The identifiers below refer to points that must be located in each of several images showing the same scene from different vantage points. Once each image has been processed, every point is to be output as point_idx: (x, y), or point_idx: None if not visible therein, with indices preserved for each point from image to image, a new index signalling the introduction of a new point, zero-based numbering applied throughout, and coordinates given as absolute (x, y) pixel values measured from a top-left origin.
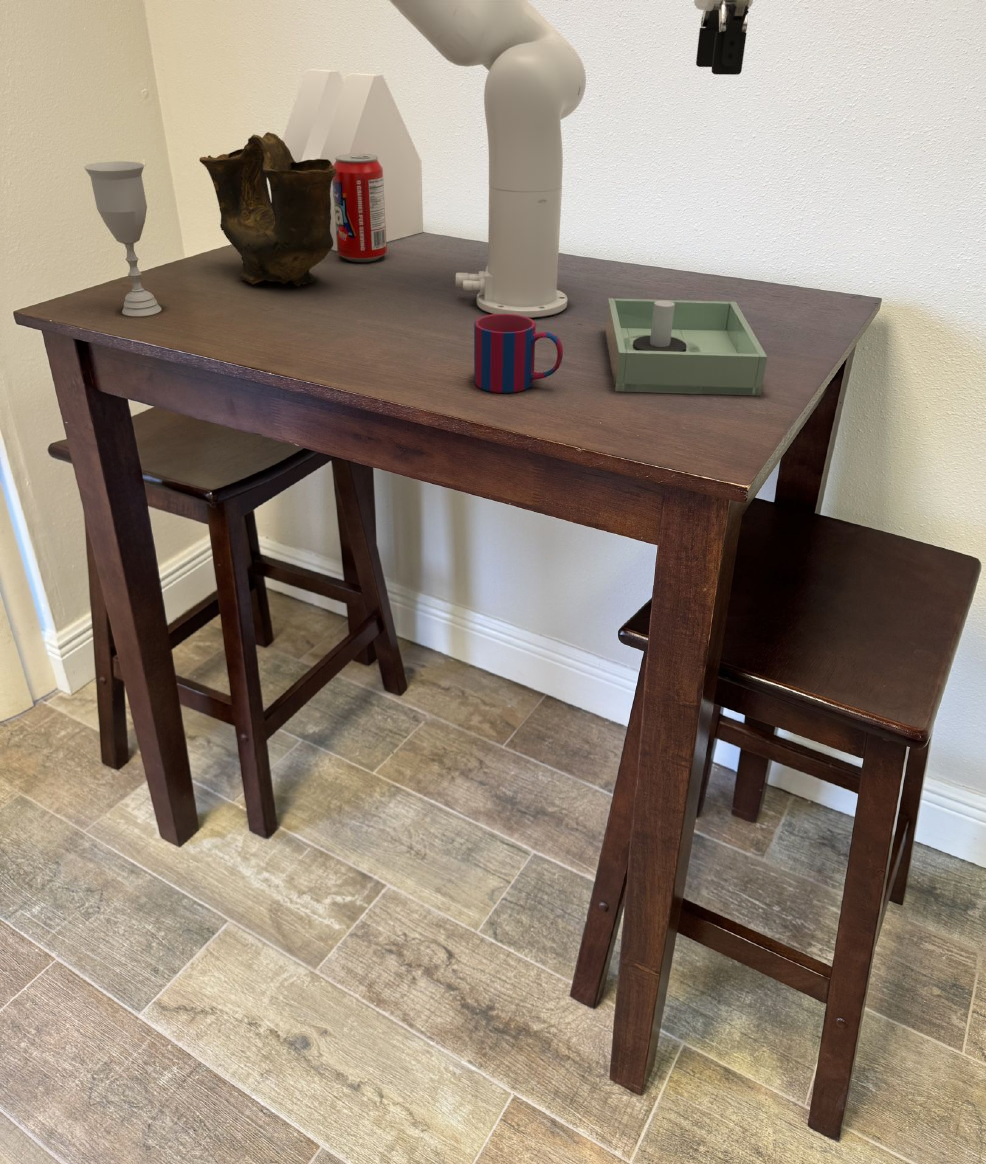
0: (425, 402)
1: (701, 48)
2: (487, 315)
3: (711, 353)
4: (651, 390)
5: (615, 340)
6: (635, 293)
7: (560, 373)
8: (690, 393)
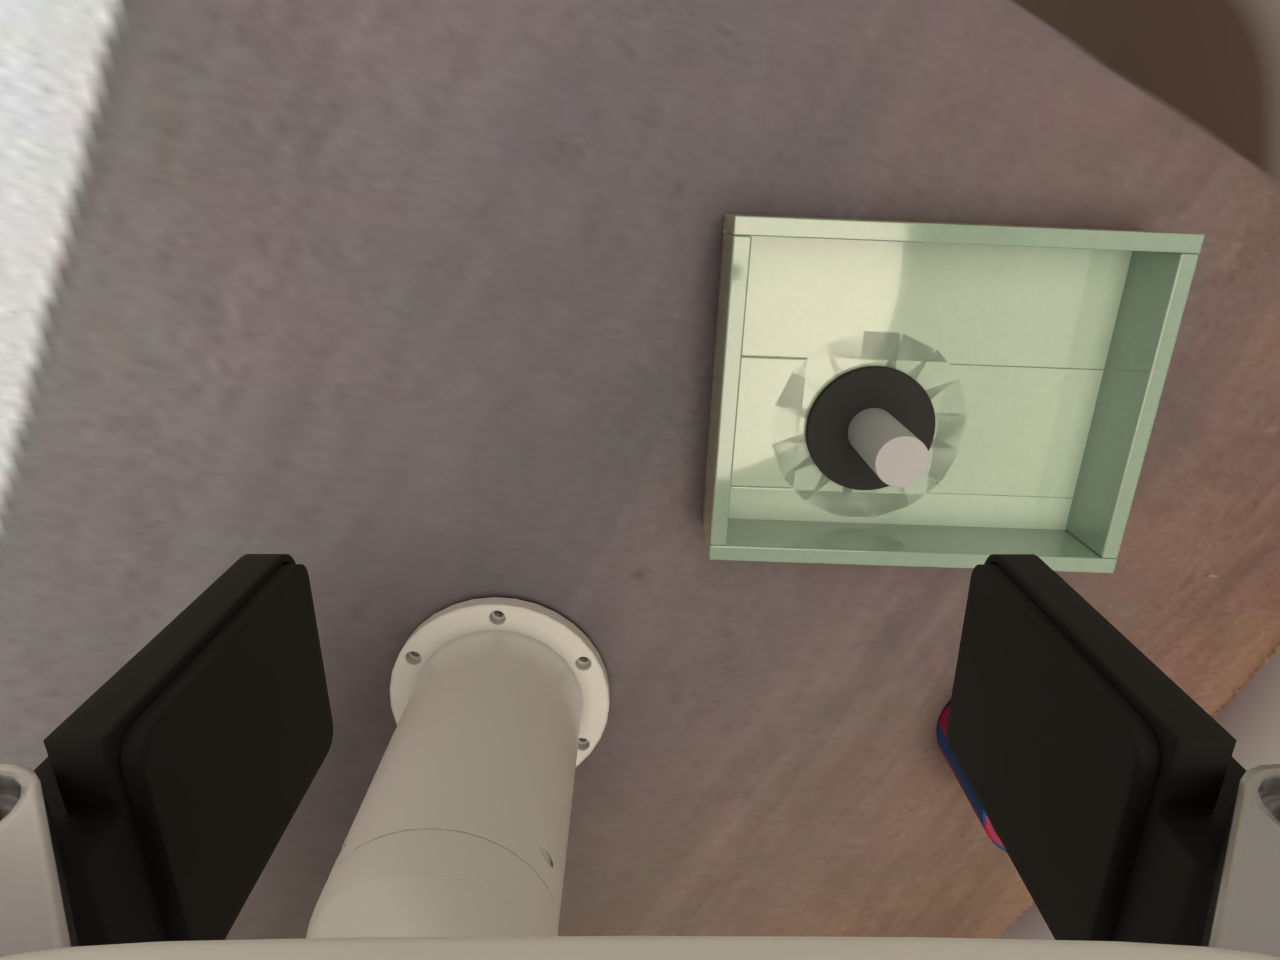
0: None
1: (285, 819)
2: (993, 838)
3: (1158, 372)
4: None
5: None
6: (354, 415)
7: (953, 629)
8: None
